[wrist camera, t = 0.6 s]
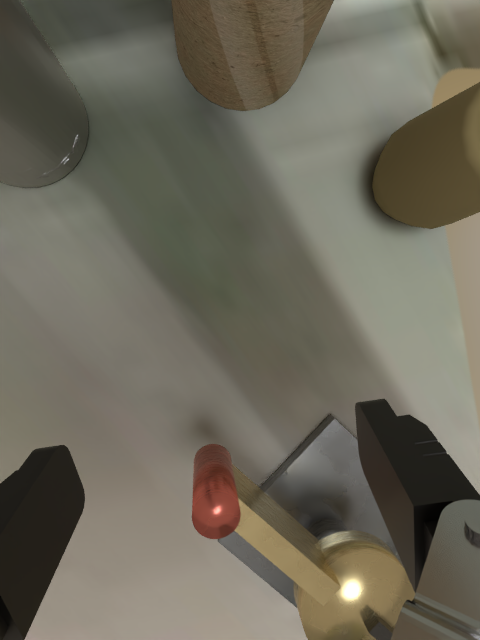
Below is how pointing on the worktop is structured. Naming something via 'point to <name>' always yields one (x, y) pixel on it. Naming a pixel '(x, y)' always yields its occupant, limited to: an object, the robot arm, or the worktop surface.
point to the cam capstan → (304, 555)
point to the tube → (245, 46)
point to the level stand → (317, 498)
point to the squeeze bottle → (433, 165)
